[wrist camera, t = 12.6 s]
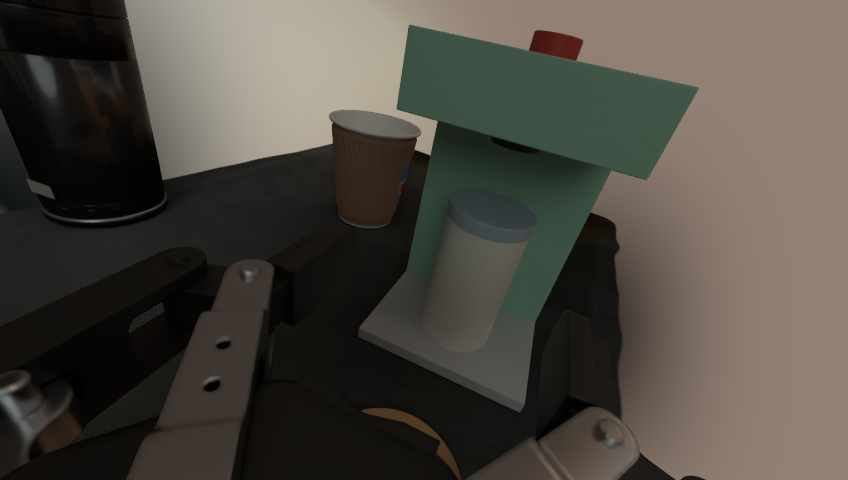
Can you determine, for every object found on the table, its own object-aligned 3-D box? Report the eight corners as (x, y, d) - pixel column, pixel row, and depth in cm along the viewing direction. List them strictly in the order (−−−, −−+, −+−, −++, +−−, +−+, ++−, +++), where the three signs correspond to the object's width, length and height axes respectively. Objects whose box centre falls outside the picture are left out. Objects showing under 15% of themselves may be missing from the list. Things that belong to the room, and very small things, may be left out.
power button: (571, 72, 22) (585, 38, 21) (522, 61, 23) (533, 27, 22) (570, 73, 25) (582, 43, 24) (527, 63, 26) (536, 33, 25)
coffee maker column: (530, 331, 30) (655, 84, 20) (403, 278, 33) (453, 40, 23) (536, 293, 36) (636, 83, 25) (426, 251, 39) (474, 47, 28)
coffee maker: (519, 413, 23) (709, 88, 12) (357, 336, 26) (399, 21, 15) (531, 330, 30) (654, 84, 20) (404, 278, 33) (454, 40, 23)
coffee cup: (416, 233, 42) (437, 139, 36) (334, 239, 37) (342, 131, 31) (388, 198, 49) (401, 115, 43) (316, 199, 44) (320, 105, 38)
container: (408, 305, 29) (435, 187, 23) (467, 296, 31) (503, 189, 26) (437, 360, 24) (479, 231, 19) (503, 345, 27) (557, 228, 21)
